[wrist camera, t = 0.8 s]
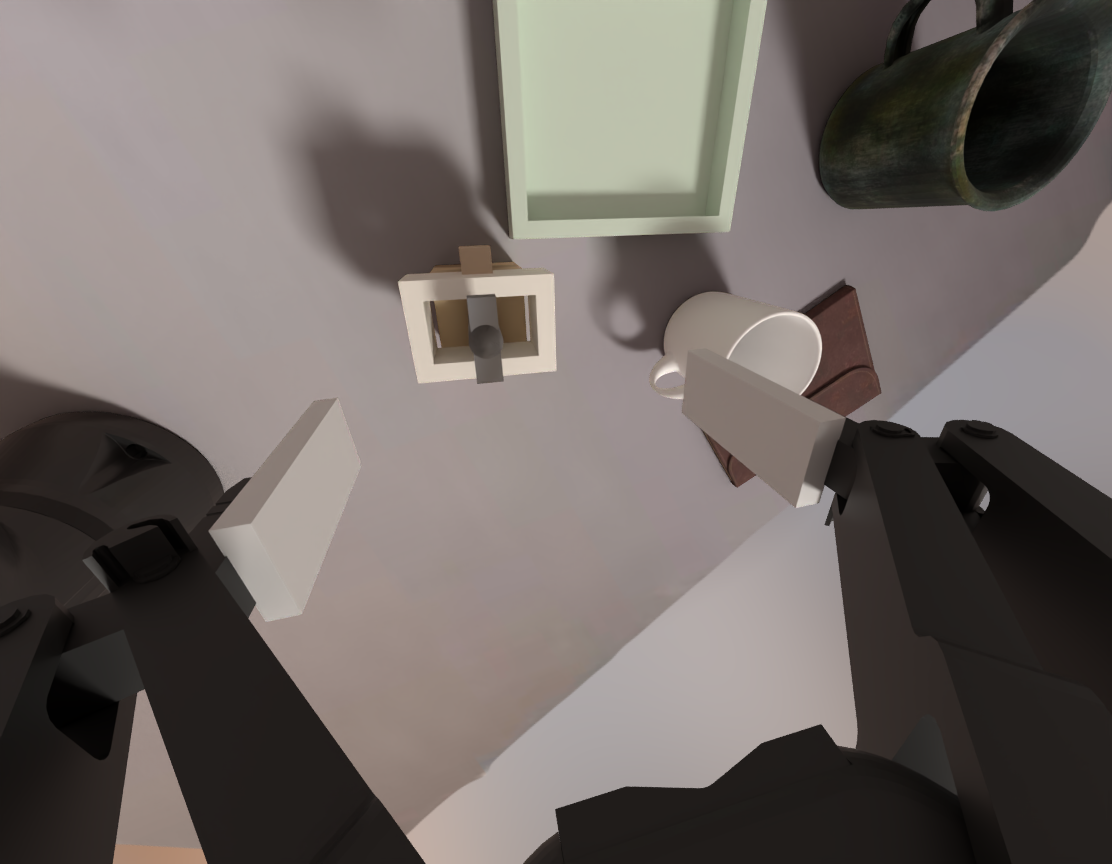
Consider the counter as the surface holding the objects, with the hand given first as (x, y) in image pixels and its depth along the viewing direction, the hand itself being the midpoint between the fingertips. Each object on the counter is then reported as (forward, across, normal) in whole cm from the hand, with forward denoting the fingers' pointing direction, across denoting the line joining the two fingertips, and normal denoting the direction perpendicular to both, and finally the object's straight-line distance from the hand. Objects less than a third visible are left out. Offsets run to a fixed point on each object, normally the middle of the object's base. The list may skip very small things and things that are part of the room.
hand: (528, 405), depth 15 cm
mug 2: (+22, +34, +12) cm, 42 cm away
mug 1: (+22, +19, -6) cm, 30 cm away
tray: (+22, +12, +14) cm, 29 cm away
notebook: (+22, +32, -13) cm, 41 cm away
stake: (+22, -1, 0) cm, 22 cm away
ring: (+16, -1, 0) cm, 16 cm away
